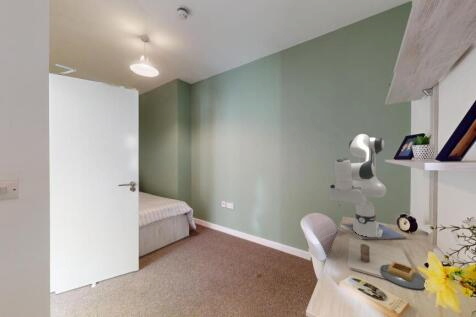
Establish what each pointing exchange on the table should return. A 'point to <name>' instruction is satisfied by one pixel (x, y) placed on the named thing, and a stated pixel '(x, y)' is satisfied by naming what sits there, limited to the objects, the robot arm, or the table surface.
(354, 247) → the table surface
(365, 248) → the walnut post
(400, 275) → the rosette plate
